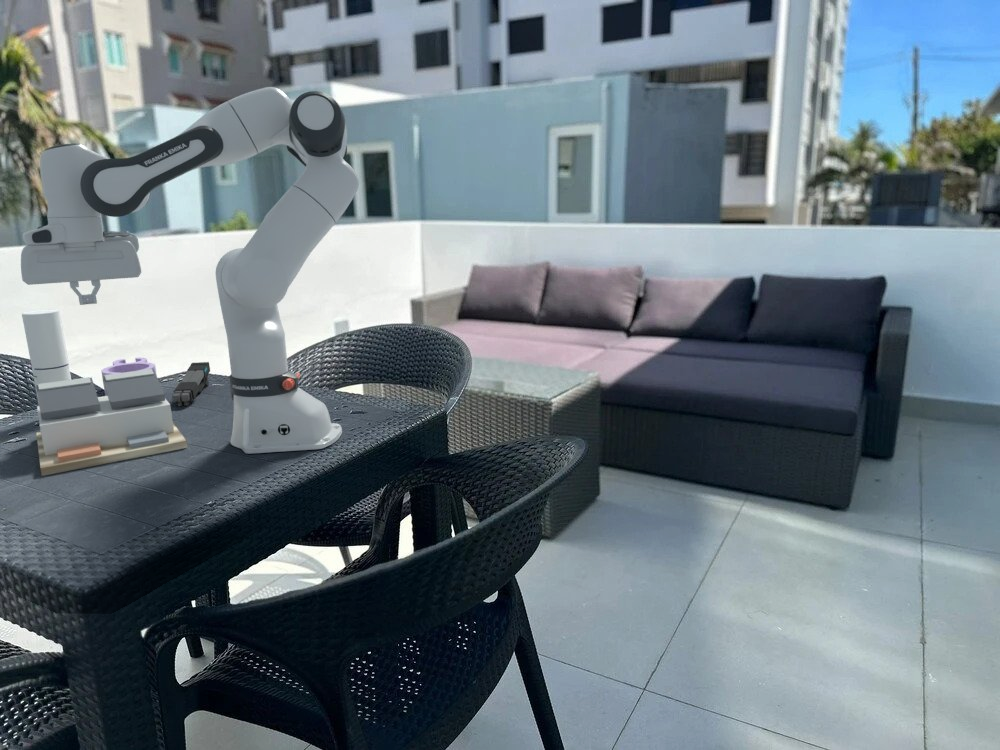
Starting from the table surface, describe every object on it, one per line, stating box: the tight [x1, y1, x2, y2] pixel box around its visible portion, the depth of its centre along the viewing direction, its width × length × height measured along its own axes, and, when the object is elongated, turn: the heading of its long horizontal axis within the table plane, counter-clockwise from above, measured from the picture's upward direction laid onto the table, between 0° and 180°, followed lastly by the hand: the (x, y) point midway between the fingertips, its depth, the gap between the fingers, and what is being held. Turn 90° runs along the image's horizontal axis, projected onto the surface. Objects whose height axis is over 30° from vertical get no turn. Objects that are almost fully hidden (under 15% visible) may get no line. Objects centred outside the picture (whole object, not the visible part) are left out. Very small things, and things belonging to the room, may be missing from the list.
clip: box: [101, 357, 158, 396], centre depth 186 cm, size 20×12×7 cm, turn 25°
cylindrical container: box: [21, 308, 72, 405], centre depth 160 cm, size 7×7×25 cm
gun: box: [171, 361, 211, 407], centre depth 180 cm, size 4×20×10 cm, turn 7°
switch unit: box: [36, 395, 188, 477], centre depth 145 cm, size 25×25×9 cm
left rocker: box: [35, 376, 101, 420], centre depth 142 cm, size 12×10×2 cm
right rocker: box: [101, 369, 166, 409], centre depth 149 cm, size 12×10×2 cm
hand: (88, 304), depth 139 cm, fingers closed
